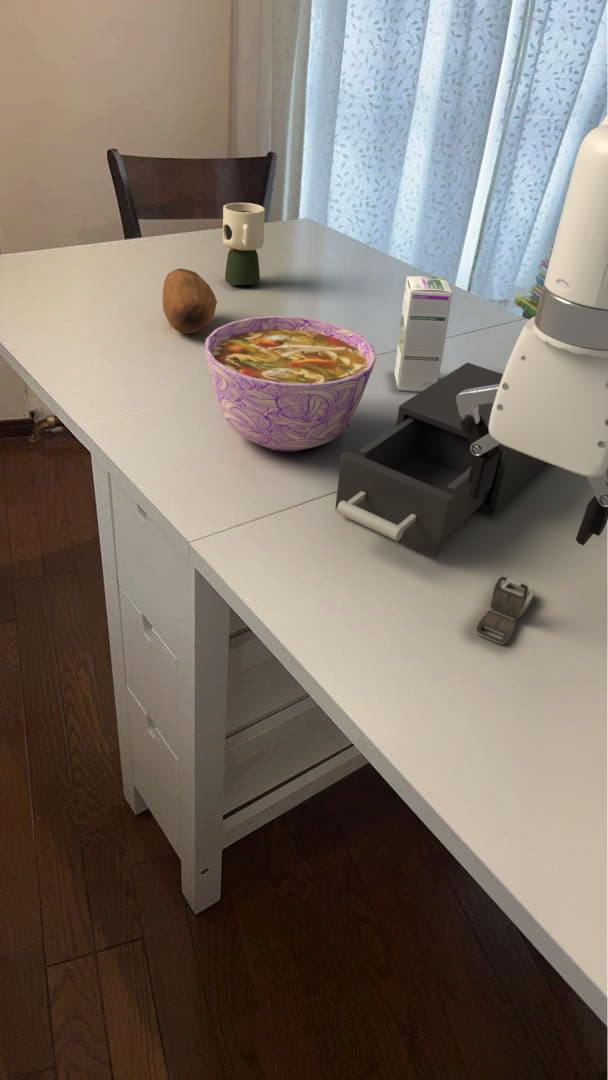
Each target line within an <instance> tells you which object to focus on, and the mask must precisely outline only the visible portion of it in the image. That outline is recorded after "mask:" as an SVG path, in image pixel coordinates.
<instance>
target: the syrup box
mask: <svg viewBox="0 0 608 1080" xmlns="http://www.w3.org/2000/svg"><path fill="white" fill-rule="evenodd" d="M452 297H453V291H452V289H451V286H450V284H449V282H448V280H447V278H443V277H439V276H438V277H437V276H428V275H427V276H426V275H425V276H424V275H414V276H412V275H411V276H410V275H407V276H406V281H405V287H404V294H403V301H402V309H401V316H400V324H399V330H398V331H399V333H398V338H397V345H396V346H397V348H396V355H395V361H394V370H393V376H394V380H395V384H396V389H397V390H398V391H405V392H414V393H415V392H417V393H420V392H422V391H423V390H425V389H426V388H428V387H429V386H431V385H433V384H434V383H436V382H437V381H439V378H440V372H441V366H442V360H443V354H444V349H445V343H446V337H447V330H448V323H449V317H450V311H451V310H450V309H451V304H452Z"/></svg>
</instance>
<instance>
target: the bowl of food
mask: <svg viewBox="0 0 608 1080" xmlns="http://www.w3.org/2000/svg"><path fill="white" fill-rule="evenodd" d="M204 354H205V358H206V359H205V360H206V363H207V367H208V371H209V375H210V380H211V384H212V387H213V390H214V394H215V399H216V402H217V404H218V408H219V412H220V413H221V414H222V417H223V418H224V420H225V421H226V423H227V424H228V425H229V426H230V428H231V429H232V430H233V432H235V433H237V435H239V436H241V438H243V439H244V440H248V441H250V442H252V443H254V444H257V445H260V446H262V447H264V448H266V449H269V450H273V451H278V452H288V453H289V452H290V453H291V452H293V453H294V452H299V451H300V452H301V451H304V450H306V449H312V448H316V447H319V446H322V445H325V444H328V443H331V442H332V441H333V440H334V439H336V438H338V437H339V436H340V435H342V433H343V432H344V431H345V430H347V428H348V427H349V426H350V424H351V422H352V420H353V417H354V416H355V414H356V411H357V410H358V407H359V405H360V403H361V401H362V398H363V395H364V392H365V391H366V387H367V385H368V382H369V379H370V376H371V374H372V371H373V369H374V366H375V364H376V361H377V355H376V351H375V348H374V346H373V345H372V344H371V343H370V342H369V341H368V340H367V339H366V338H365V337H364V336H363V335H360V334H358V333H357V332H354V331H352V330H351V329H348V328H347V327H344V326H341V325H338V324H336V323H335V324H334V323H331V322H328V321H324V320H320V319H313V318H307V317H302V316H284V315H283V316H282V315H281V316H280V315H271V316H270V315H269V316H256V317H249V318H245V319H244V318H243V319H240V320H234V321H231V322H229V323H226V324H224V325H222V326H219V327H218V328H215V329H214V331H212V332H211V333H210V334H209V335H208V336H207V337H205V343H204Z"/></svg>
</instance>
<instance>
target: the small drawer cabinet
mask: <svg viewBox="0 0 608 1080" xmlns="http://www.w3.org/2000/svg"><path fill="white" fill-rule="evenodd" d="M503 374H504V373H502V372H501V373H500V372H497V371H495V370H492V369H489V368H485V367H483V366H480V365H477V364H474V363H471V362H465V363H463V365H461V366H459V367H458V368H456V369H455V370H452V371H451V372H450V373H448V374H446V375H445V376H443V377H442V378H440V379H438V381H437V382H436V383H434V384H433V385H431V386H429V387H428V388H426V389H425V390H423V391H422V392H417V393H416V394H415V395H413V396H411V398H409V399H407V400H406V401H404V402H403V403H401V404H400V405H399V406H398V412H397V418H396V425H395V427H396V426H397V425H399V424H400V423H402V422H403V421H405V420H406V419H408V418H409V417H413V418H416V419H419V420H421V421H424V422H427V423H429V424H432V425H434V426H437V427H440V428H442V429H445V430H447V431H450V432H453V433H455V434H458V435H461V436H463V437H466V438H467V436H466V435H465V433H464V431H463V429H462V427H461V421H462V419H461V417H460V415H459V411H458V407H457V402H456V396H457V395H458V394H459V393H460V392H462V391H463V390H465V389H470V388H477V387H483V386H489V385H496V384H500V382H501V379H502V376H503ZM493 404H494V403H490V404H483V405H478V408H479V411H478V412H479V414H480V415H481V416H482V418H483V420H484V422H485V424H486V425H487V427H488V429H489V420H490V415H491V411H492V408H493ZM497 446H498V447H500V449H499V450H500V451H502V455H501V459H500V463H499V467H498V471H497V476H496V480H495V484H494V488H493V492H492V496H491V497H490V498H489V499H488V500H486V501H485V502H484V503H483V504H482V505H481V506H480V507H479V508H478V509H477V510H479V511H483V512H484V513H487V514H490V515H492V516H494V515H496V513H497V512H499V511H500V510H501V509H502V508H503V507H504V505H506V504H507V503H508V502H509V501H510V500H511V499H512V498H513V497H514V496H515V495H516V494H517V493H518V492H519V491H520V490H522V488H524V486H525V485H527V483H529V482H530V481H531V480H532V479H533V478H534V477H535V476H536V475H537V474H538V473H539V472H540V471H541V470H542V469H543V468H544V467H545V466H546V465H547V464H548V463H547V462H544V461H542V460H539V459H536V458H534V457H531V456H529V455H526V454H524V453H521V452H519V451H516V450H513V449H511V448H509V447H506V446H504V445H502V444H499V445H497Z"/></svg>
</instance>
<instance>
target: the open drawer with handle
mask: <svg viewBox="0 0 608 1080" xmlns="http://www.w3.org/2000/svg"><path fill="white" fill-rule="evenodd" d="M396 425H397V424H396ZM396 425H395V426H394V427H393V428H391V429H389V430H388V431H386V432H385V433H384V434H382V435H380V437H379V436H378V438H376V439H374V440H373V441H372V442H370V443H368V444H367V445H366V446H364V447H363V448H361V449H360V451H359V454H358V453H356V452H355V453H354V452H352V451H350V450H346V451H345V452H343V453H342V454H341V455H340V463H339V464H340V465H339V473H338V480H337V481H338V482H337V490H336V498H335V499H336V500H335V508H334V510H335V511H336V513H337V514H339V515H341V516H342V517H345V518H347V519H349V520H351V521H354V522H355V523H358V524H360V525H362V526H364V527H366V528H369V529H370V530H372V531H375V532H377V533H378V534H381V535H383V536H385V537H388V538H390V539H392V540H394V541H395V542H397V541H401V542H404V543H406V544H407V545H410V546H412V547H414V548H416V549H418V550H421V551H422V552H425V553H427V554H429V555H431V556H434V557H438V556H439V555H441V554H442V553H443V550H444V545H445V540H446V538H448V537H449V535H451V534H452V533H453V532H455V530H456V529H457V528H458V527H459V526H461V525H462V524H463V523H464V522H465V521H466V520H467V519H468V518H469V517H470V516H472V514H474V513H475V512H476V511H477V510H479V509H478V508H479V507H480V506H481V505H482V504H483V503H484V502H485V501H486V500H488V499H489V498H490V497H491V496H492V492H493V488H494V484H495V480H496V476H497V471H498V467H499V463H500V459H501V455H502V451H501V452H500V456H499V460H498V464H497V468H496V472H495V475H494V479H493V483H492V486H491V488H490V489H488V490H487V491H486V492H485V493H484V494H483V495H482V496H481V497H479V498H478V499H477V498H476V499H473V498H470V497H469V494H470V490H471V486H472V483H470V482H469V481H468V479H469V475H470V470H471V466H472V462H473V458H474V455H473V454H472V453H471V451H470V446H471V444H470V442H469V440H468V438H466V437H463V436H461V435H458V434H455V433H453V432H450V431H447V430H445V429H442V428H440V427H437V426H434V425H432V424H429V423H427V422H424V421H421V420H419V419H416V418H413V417H409V418H408V419H406V420H405V421H403V422H402V423H400V424H399V425H397V426H396Z"/></svg>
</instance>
